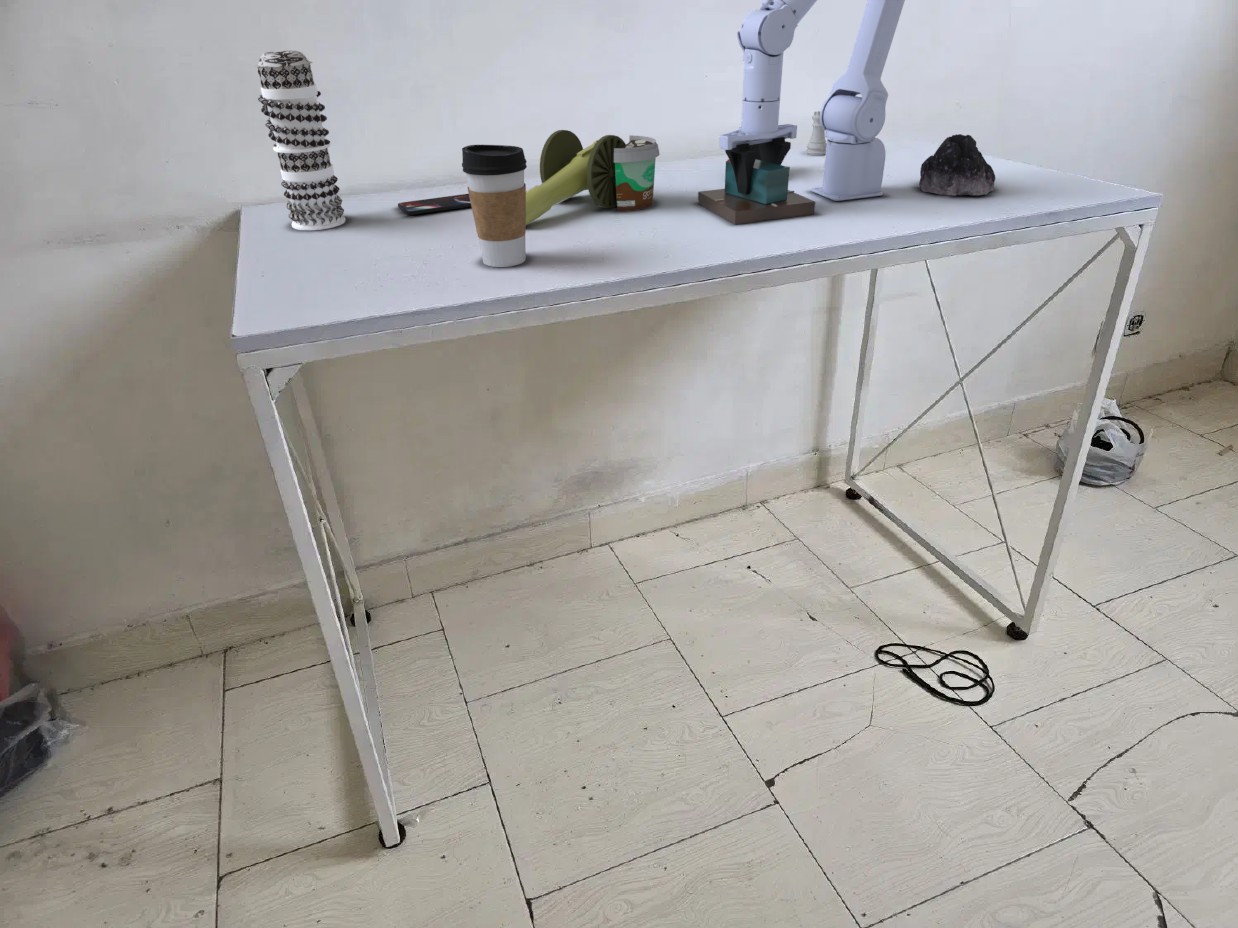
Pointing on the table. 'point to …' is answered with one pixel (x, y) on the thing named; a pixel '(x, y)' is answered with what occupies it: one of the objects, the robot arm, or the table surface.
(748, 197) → the teal block red stripe
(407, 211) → the smartphone
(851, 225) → the table surface
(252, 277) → the table surface
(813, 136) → the white chess piece
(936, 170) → the crystal cluster
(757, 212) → the clock
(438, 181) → the table surface
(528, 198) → the cannon
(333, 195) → the white patterned cylinder
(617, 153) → the food container
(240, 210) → the table surface
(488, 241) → the coffee cup
